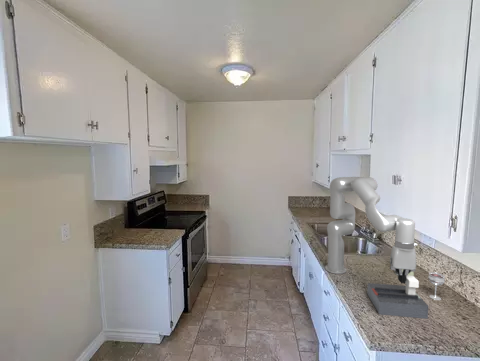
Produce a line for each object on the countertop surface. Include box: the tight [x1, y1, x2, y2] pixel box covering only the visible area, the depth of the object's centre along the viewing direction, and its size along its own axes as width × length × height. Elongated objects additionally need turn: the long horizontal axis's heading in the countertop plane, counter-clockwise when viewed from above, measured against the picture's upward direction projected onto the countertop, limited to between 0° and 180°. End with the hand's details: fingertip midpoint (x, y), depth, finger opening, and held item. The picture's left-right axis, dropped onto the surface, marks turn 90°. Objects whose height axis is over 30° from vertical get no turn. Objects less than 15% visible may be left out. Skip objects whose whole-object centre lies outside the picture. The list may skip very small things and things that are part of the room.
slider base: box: [366, 282, 429, 320], centre depth 127 cm, size 18×20×7 cm
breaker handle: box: [405, 275, 420, 295], centre depth 125 cm, size 6×4×8 cm, turn 170°
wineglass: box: [427, 271, 446, 301], centre depth 133 cm, size 7×7×12 cm
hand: (401, 282), depth 125 cm, fingers closed
